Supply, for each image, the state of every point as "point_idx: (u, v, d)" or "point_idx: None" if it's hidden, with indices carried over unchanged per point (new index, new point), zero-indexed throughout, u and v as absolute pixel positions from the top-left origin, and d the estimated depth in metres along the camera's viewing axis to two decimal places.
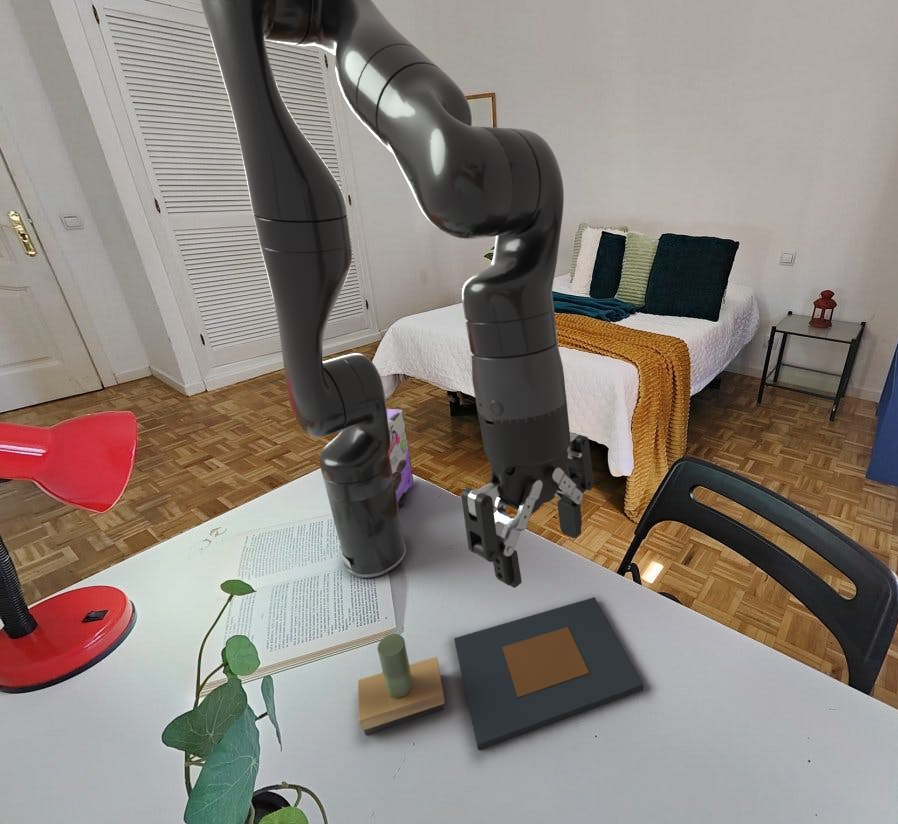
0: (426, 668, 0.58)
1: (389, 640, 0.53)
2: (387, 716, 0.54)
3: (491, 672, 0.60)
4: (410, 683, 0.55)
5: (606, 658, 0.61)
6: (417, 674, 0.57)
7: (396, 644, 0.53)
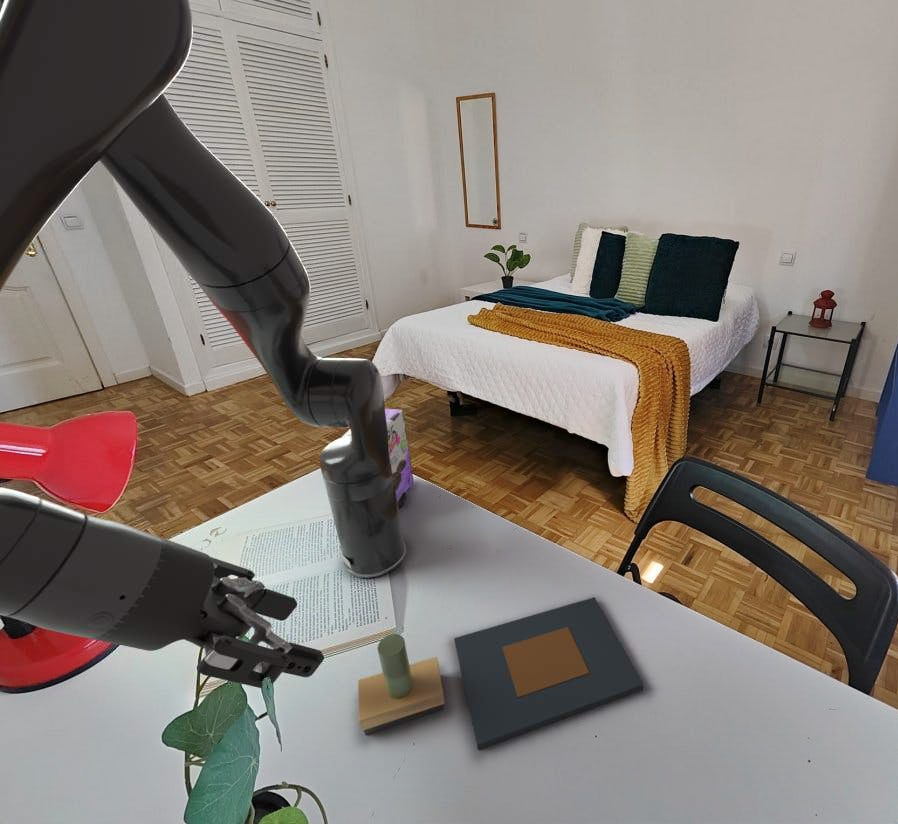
0: (426, 668, 0.58)
1: (389, 640, 0.53)
2: (387, 716, 0.54)
3: (491, 672, 0.60)
4: (410, 683, 0.55)
5: (606, 658, 0.61)
6: (417, 674, 0.57)
7: (396, 644, 0.53)
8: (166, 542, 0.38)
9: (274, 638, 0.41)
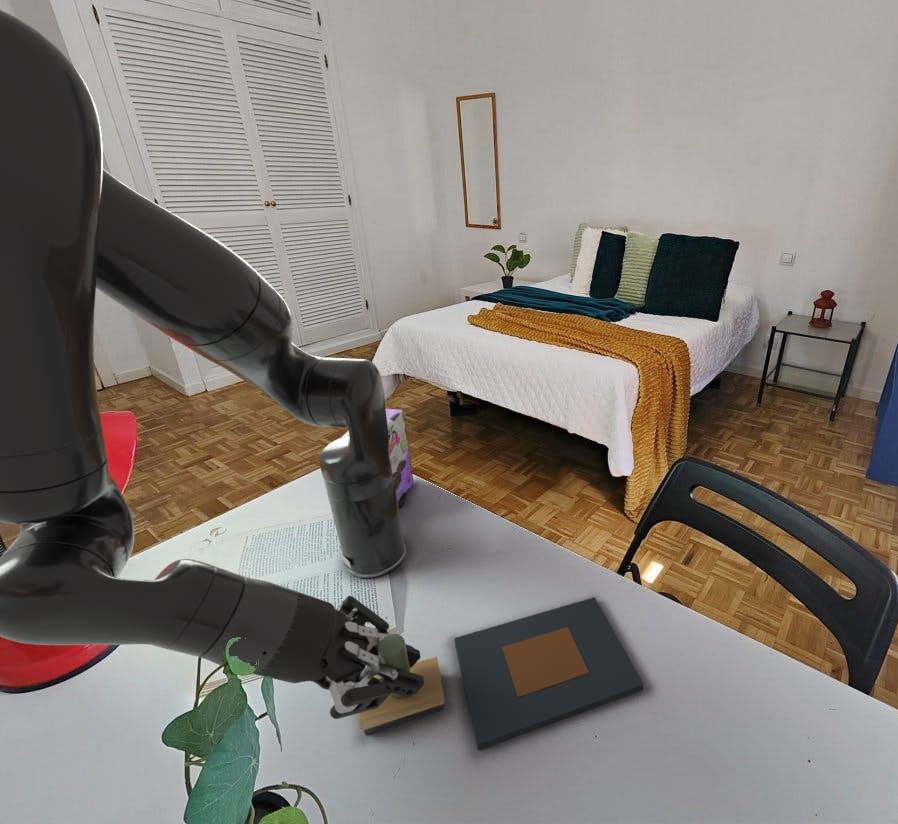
0: (426, 668, 0.58)
1: (390, 640, 0.53)
2: (387, 716, 0.54)
3: (491, 672, 0.60)
4: None
5: (606, 658, 0.61)
6: (417, 674, 0.57)
7: (396, 644, 0.53)
8: (301, 602, 0.47)
9: (384, 670, 0.51)
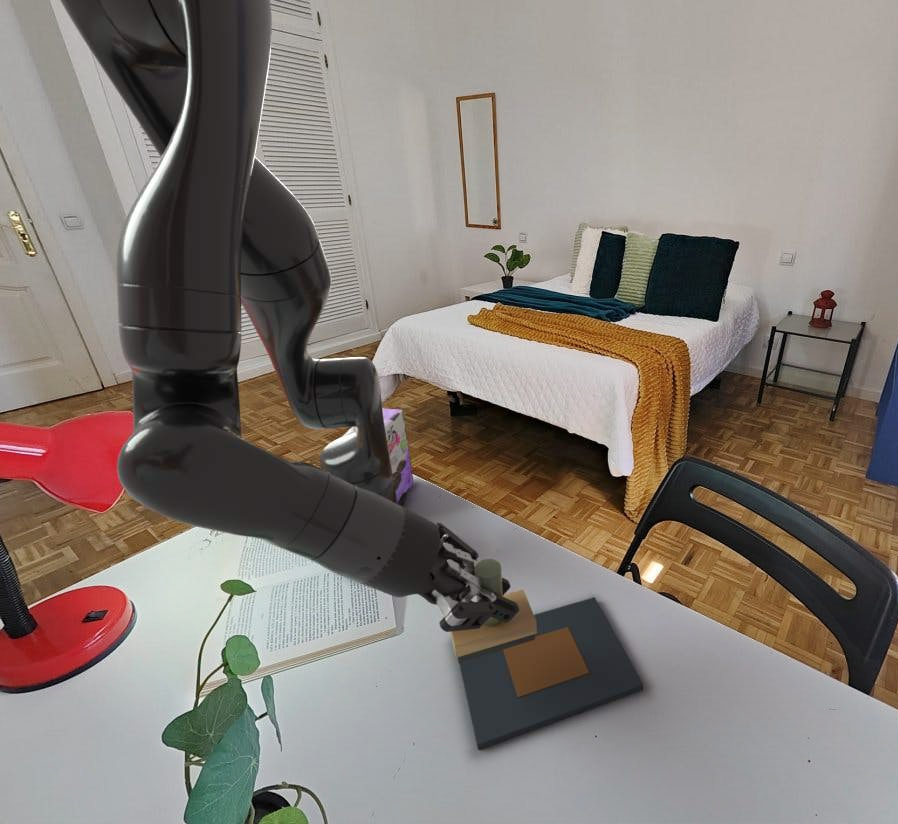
0: (514, 599, 0.56)
1: (485, 564, 0.52)
2: (481, 643, 0.52)
3: (491, 672, 0.60)
4: None
5: (606, 658, 0.61)
6: None
7: (493, 567, 0.51)
8: (407, 513, 0.45)
9: (484, 591, 0.50)
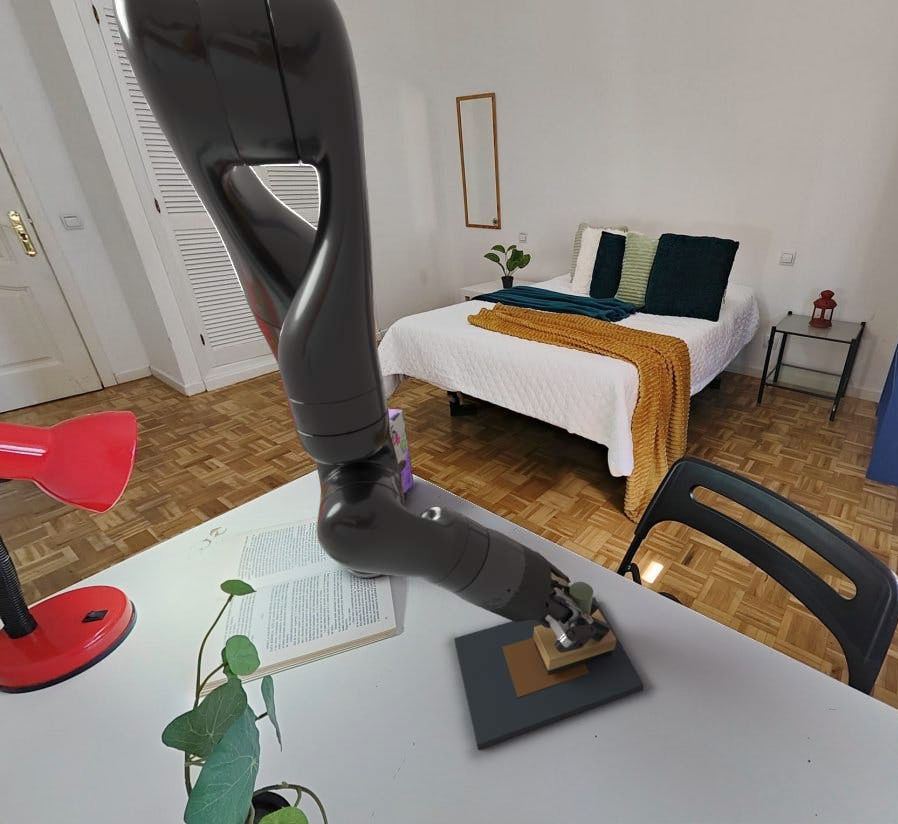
0: None
1: (578, 587, 0.58)
2: (570, 658, 0.58)
3: (491, 672, 0.60)
4: None
5: (606, 658, 0.61)
6: None
7: (585, 590, 0.58)
8: (525, 549, 0.52)
9: (583, 615, 0.56)
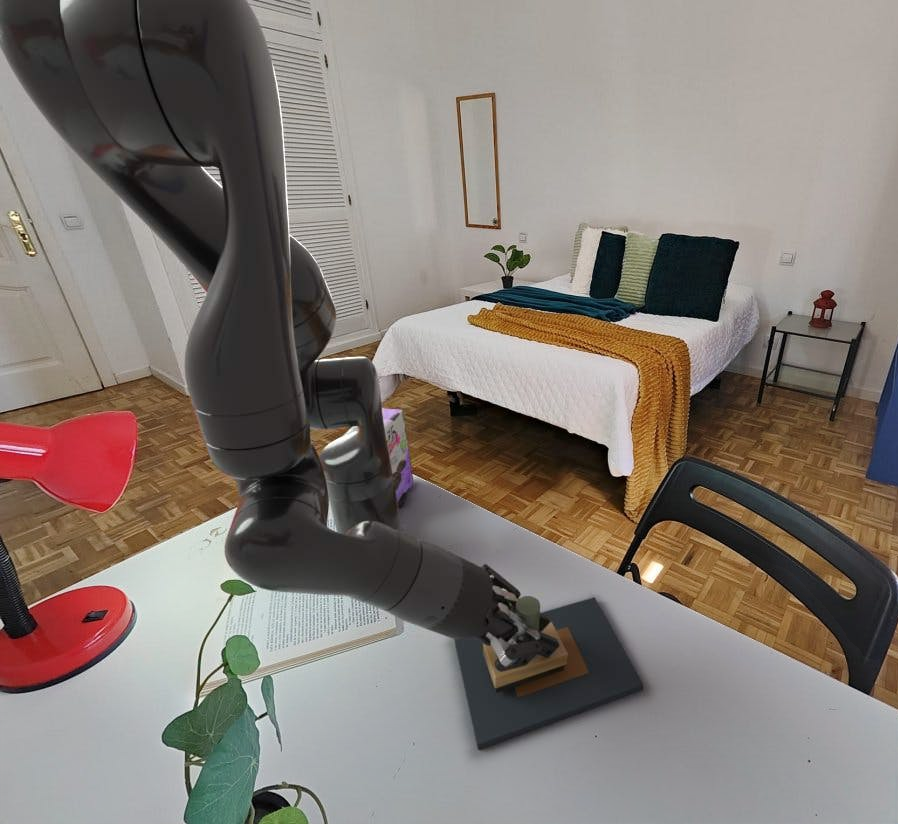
0: (545, 632, 0.61)
1: (525, 601, 0.56)
2: (518, 675, 0.56)
3: None
4: None
5: (606, 658, 0.61)
6: None
7: (532, 604, 0.56)
8: (464, 563, 0.50)
9: (529, 631, 0.54)
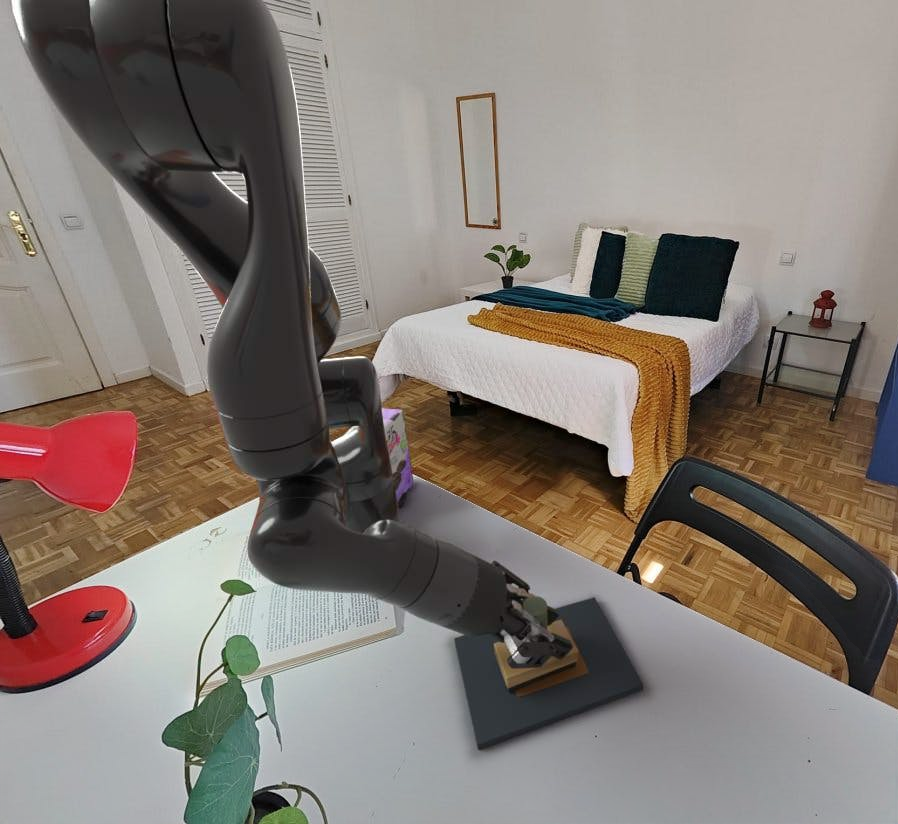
0: (555, 630, 0.61)
1: (532, 602, 0.56)
2: (530, 674, 0.57)
3: (491, 672, 0.60)
4: None
5: (606, 658, 0.61)
6: None
7: (539, 605, 0.56)
8: (479, 562, 0.51)
9: (543, 631, 0.55)
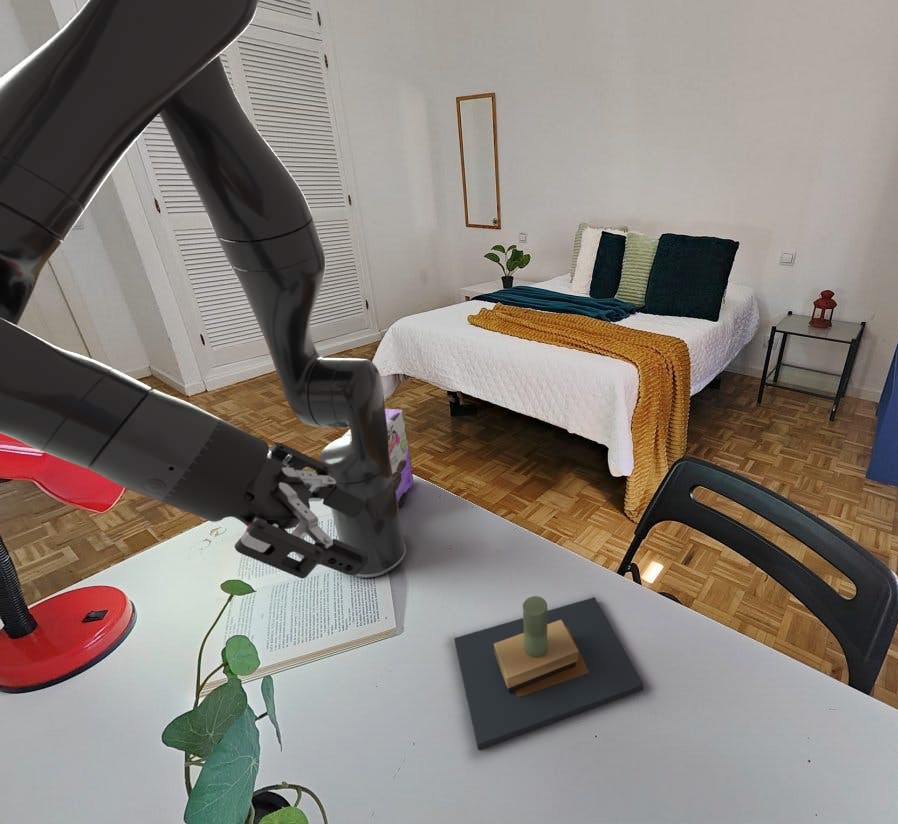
0: (555, 630, 0.61)
1: (532, 602, 0.56)
2: (530, 674, 0.57)
3: (491, 672, 0.60)
4: (547, 643, 0.59)
5: (606, 658, 0.61)
6: (548, 635, 0.61)
7: (539, 605, 0.56)
8: (223, 425, 0.39)
9: (317, 532, 0.41)
